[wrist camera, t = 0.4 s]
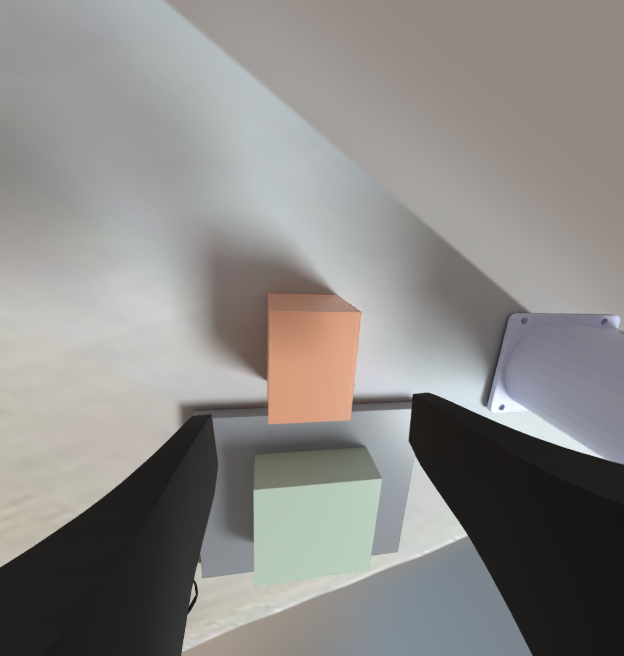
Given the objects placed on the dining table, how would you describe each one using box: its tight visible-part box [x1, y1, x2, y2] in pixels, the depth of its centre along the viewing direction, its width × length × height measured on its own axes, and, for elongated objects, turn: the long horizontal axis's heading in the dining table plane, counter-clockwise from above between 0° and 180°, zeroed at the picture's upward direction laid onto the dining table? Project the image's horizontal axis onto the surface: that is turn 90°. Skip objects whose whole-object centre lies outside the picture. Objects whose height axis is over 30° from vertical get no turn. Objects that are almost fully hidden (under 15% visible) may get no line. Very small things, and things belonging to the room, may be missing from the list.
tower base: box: [191, 401, 415, 587], centre depth 21 cm, size 16×14×4 cm
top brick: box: [267, 293, 361, 424], centre depth 17 cm, size 4×6×5 cm
